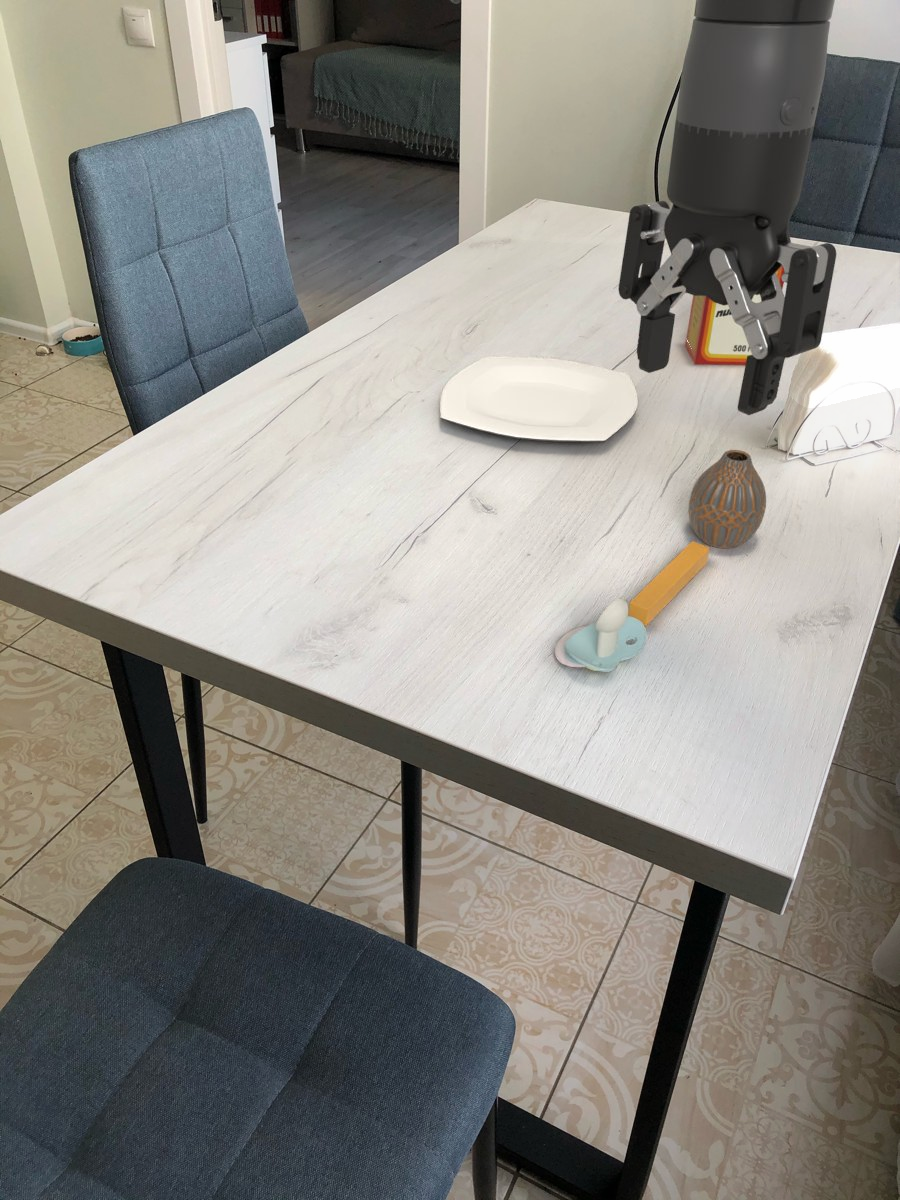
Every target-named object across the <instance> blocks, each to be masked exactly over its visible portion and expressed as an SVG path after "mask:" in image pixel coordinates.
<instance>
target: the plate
mask: <svg viewBox="0 0 900 1200" xmlns="http://www.w3.org/2000/svg"><path fill="white" fill-rule="evenodd" d="M439 401H440V403H439V404H440V405H439V409H440V410H439V411H440V419H441V420H443V421H446V422H449V423H452V424H455V425H459V426H462V427H465V428H469V429H473V430H476V431H481V432H484V433H488V434H492V435H496V436H501V437H507V438H512V439H517V440H527V441H528V440H530V441H538V442H539V441H540V442H541V441H542V442H557V443H559V442H560V443H561V442H563V443H605V442H606V441H607V440H608V439H610V438H611V437H613V436H614V435H615V434H616V433H618V431H620V430H621V429H622V428H624V427H625V426H626V425H627V423H628V422H630V420H631V419H632V418H633V416H634V414H635V412H636V410H637V409H638V403H639V398H638V393H637V390H636V387H635V384H634V382H633V380H632V377H631V376H630V373H629V374H628V373H625V372H620V371H617V370H614V369H609V368H605V367H601V366H596V365H592V364H587V363H582V362H578V361H577V362H576V361H570V360H567V359H566V360H564V359H560V358H548V357H547V358H545V357H529V356H528V357H527V356H484V357H482V358H480V359H478V360H477V361H475V362H473V363H471V364H470V365H468V366H466V367H464V368H463V369H461V370H460V371H459V372H457V373H456V374H455V375H453V376H452V377H451V378H450V379H449V380H448V381H447V382H446V384H445V385H444V387H443V389H442V391H441V395H440V399H439Z"/></svg>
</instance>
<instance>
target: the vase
mask: <svg viewBox="0 0 900 1200" xmlns="http://www.w3.org/2000/svg"><path fill="white" fill-rule="evenodd" d="M766 509H767V494H766V488H765V484H764V482H763V480H762V478H761V476H760V474H759V473H758V472H757V470H756V468H755V467H754V463H753V460H752V457H751V455H750V454H749V453H748V452H746V451H743V450H739V449H729V450H727V451H725V452H724V453H723V454H722V456H721V457H720V458H719V459H718V460H717V461H716V462H715V463H713V464H712V465H710V466H709V467H708V468H706V469H705V470H704V471H703V472H702V473H701V474H700V476H699V477H698V478H697V480H696V481H695V483H694V484H693V487H692V489H691V492H690V495H689V499H688V510H687V511H688V519H689V523H690V527H691V529H692V530H693V532H694V534H695V535H696V536H697V537H698V539H700V540H701V541H702V542H703V543H704V544H707V545H708V546H711V547H713V548H719V549H732V548H736V547H738V546H740V545H742V544H744V543H746V542H748V541H749V540H750V539H752V538H753V536H754V535H755V534H756V533H757V531H758V529H759V528H760V526H761V525H762V522H763V519H764V517H765V513H766Z"/></svg>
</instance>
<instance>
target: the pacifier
mask: <svg viewBox="0 0 900 1200" xmlns="http://www.w3.org/2000/svg"><path fill="white" fill-rule="evenodd" d="M628 613H629V604H628V602H627V601H626V599H625V598H624V597H617V598H616V599H614V600H613V601H612V602H610V603H609V604H608V605H607V606H606V607H605V608H604V610H603V611H602V612H601V613H600V615H599V617H598V618H597V621H595V622H593V623H590V624H586V625H582V626H579V627H576V628H574V629H572V630H570V631H568V632H566V633H565V634H564V635H562V636H561V637H560V639H559V640H558V641H557V642H556V645H555V647H554V656H555V658H556V660H557V661H558V662H559V663H560V664H562V665H564V666H566V667H570V668H586V669H587V670H589V671H594V672H603V673H604V672H605V673H606V672H607V673H608V672H609V673H610V672H612V671H615V670H616V669H617V667H618V665H619V663H620V662H622V661H627V660H630V659H632V658H634V657H636V656H637V655H638V654H639V653H641V651H642V650H643V648H644V647H645V644H646V642H647V635H648V634H647V629H646V626H644V625H643V624H642V622H640V621H639V620H637V619H636V618H633V617H630V616H628ZM629 640H635V643H633V644H628V643H627V642H628V641H629Z"/></svg>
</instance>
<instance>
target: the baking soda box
mask: <svg viewBox="0 0 900 1200" xmlns="http://www.w3.org/2000/svg"><path fill="white" fill-rule="evenodd" d="M776 274H777V277H778V280H779V282H780V285H781V288H782V290H783V289H784V285H785V282H783V281H782V275H783V274H784V268H783V266H781V267H780V268H779V269H778V271H777V272H776ZM750 299H751V300H752V301H753V302H754V303H759V302H761V297H760V294H759V291H758V292H757V293H756V294H755V295H754V296H752V297H751V298H750ZM764 324H765V323H764ZM765 327H766V326H765ZM686 338H687V340H688V342H689V343H688V342H687V340H686ZM689 344H690V345H689ZM690 346H691V347H690ZM684 347H685V349H686V351H687V353H688V354H689V356H690V359H691V360H692V362H693V364H694V365H709V366H710V365H711V366H712V365H716V366H719V365H722V366H723V365H724V366H731V365H733V366H745V365H746V360H747V356H749V355H752V353H751V351H750V348H749V345H748V342H747V339H746V336H745V333H744V331H743V328H742V327H741V326H740V325H738V324H736V323H735V321H734V320H733V317H732V314H731V311H730V308H729V306H728V305H725V306H724V305H721V304H718V303H715V302H713V301H712V300H710V299H709V298H708V297H706V296H694V295H692V301H691V307H690V313H689V319H688V326H687V331H686V337H685V344H684ZM691 348H692V349H691Z"/></svg>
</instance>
